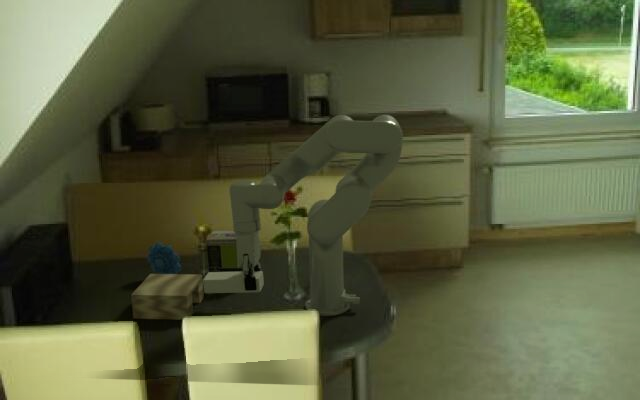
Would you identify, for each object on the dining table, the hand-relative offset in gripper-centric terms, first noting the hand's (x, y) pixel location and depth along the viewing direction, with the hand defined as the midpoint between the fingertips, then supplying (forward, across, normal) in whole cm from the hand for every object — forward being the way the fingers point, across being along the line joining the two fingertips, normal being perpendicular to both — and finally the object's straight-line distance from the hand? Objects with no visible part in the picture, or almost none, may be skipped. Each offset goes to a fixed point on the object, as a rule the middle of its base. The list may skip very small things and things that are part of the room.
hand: (253, 284), depth 201 cm
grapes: (+6, -22, -34) cm, 41 cm away
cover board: (+1, 0, -6) cm, 6 cm away
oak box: (+6, 0, -25) cm, 26 cm away
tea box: (+7, -24, -12) cm, 27 cm away
